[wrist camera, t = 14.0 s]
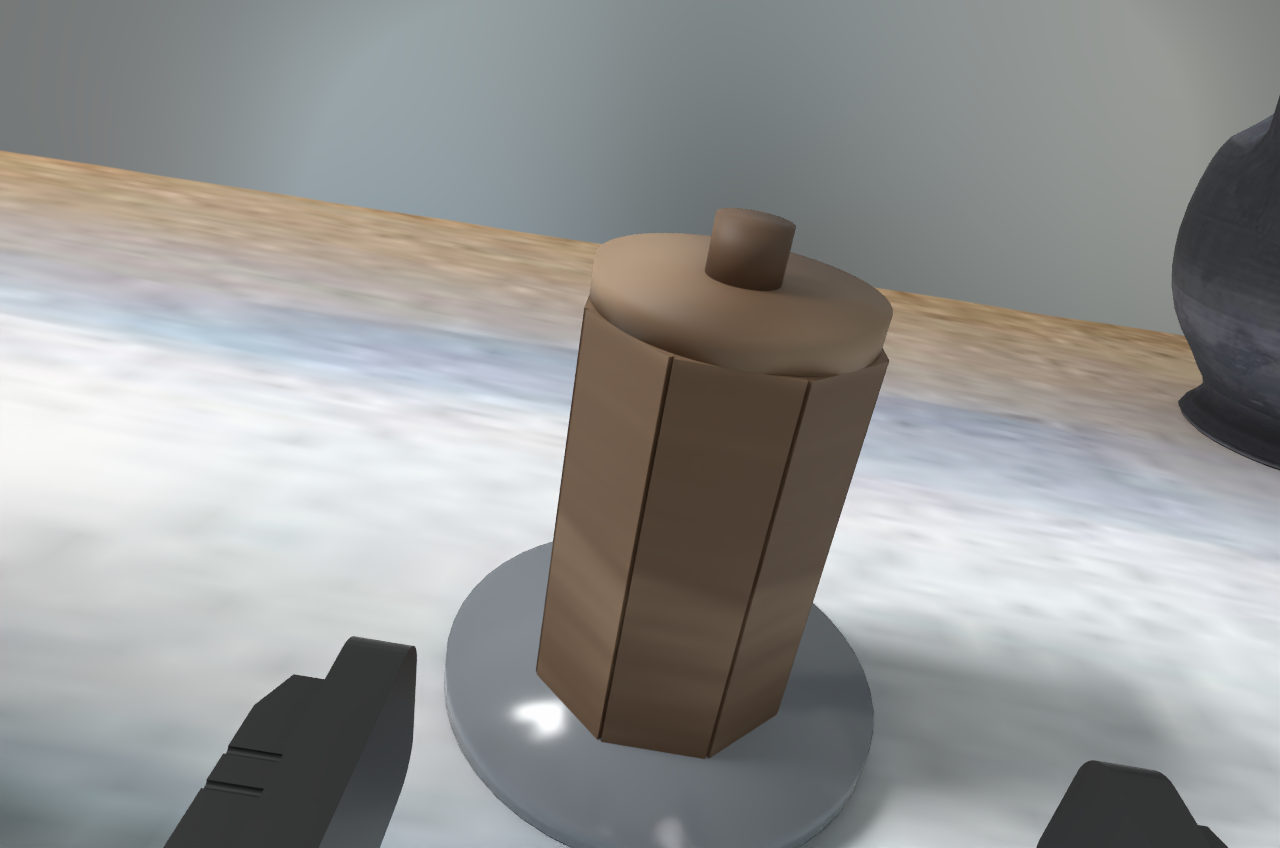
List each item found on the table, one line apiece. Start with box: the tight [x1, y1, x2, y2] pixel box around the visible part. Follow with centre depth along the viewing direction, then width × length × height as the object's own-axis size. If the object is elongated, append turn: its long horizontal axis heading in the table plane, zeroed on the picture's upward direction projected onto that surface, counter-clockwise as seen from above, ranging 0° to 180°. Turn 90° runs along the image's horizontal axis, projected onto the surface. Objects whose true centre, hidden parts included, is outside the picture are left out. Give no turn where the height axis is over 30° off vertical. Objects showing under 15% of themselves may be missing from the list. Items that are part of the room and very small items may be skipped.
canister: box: [536, 208, 893, 759], centre depth 19 cm, size 6×6×12 cm
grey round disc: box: [444, 542, 873, 848], centre depth 22 cm, size 11×11×1 cm
